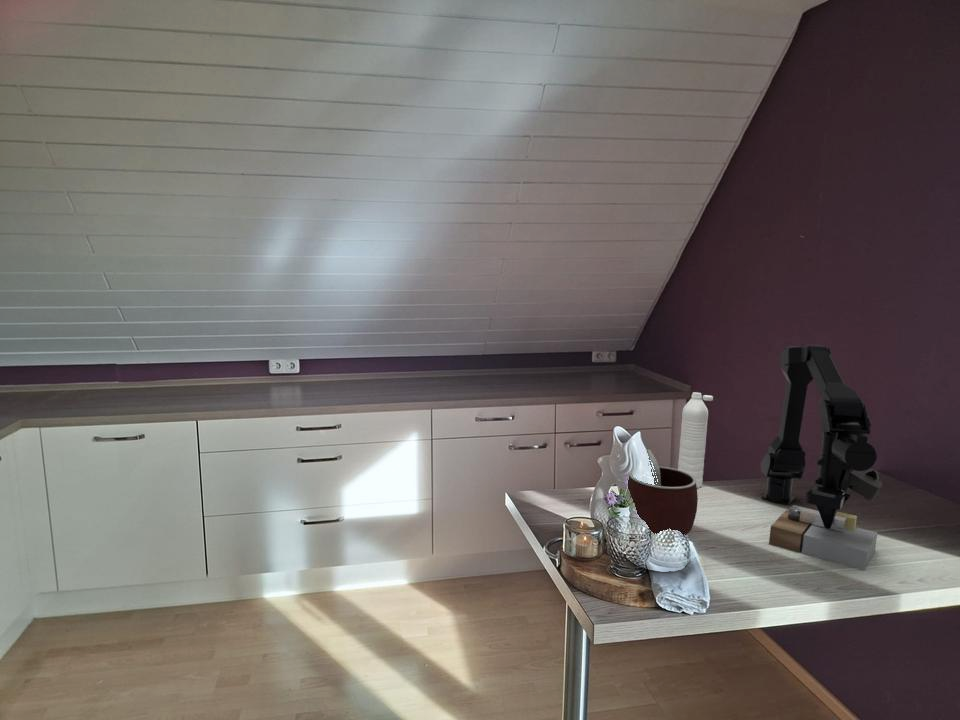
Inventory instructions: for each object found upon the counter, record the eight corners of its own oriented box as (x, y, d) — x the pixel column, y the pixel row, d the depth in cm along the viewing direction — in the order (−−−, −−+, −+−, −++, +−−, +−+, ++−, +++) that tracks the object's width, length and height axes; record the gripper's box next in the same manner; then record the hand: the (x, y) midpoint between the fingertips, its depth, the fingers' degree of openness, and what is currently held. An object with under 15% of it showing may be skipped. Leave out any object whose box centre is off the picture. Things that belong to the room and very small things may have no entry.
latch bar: (785, 518, 144) (787, 507, 144) (789, 514, 147) (791, 503, 147) (842, 532, 138) (843, 521, 137) (845, 528, 140) (847, 517, 140)
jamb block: (784, 526, 150) (785, 510, 150) (812, 534, 147) (814, 517, 146) (768, 544, 141) (770, 526, 140) (799, 552, 137) (801, 534, 137)
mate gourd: (703, 574, 127) (712, 474, 124) (633, 575, 126) (640, 474, 122) (673, 539, 142) (680, 449, 139) (610, 540, 141) (616, 449, 138)
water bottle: (671, 481, 178) (678, 390, 174) (691, 479, 181) (698, 389, 177) (692, 492, 170) (700, 397, 166) (713, 490, 173) (721, 396, 169)
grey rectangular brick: (815, 535, 146) (818, 506, 145) (874, 550, 139) (878, 520, 138) (801, 553, 137) (805, 523, 136) (864, 570, 130) (869, 539, 129)
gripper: (874, 475, 123) (864, 554, 126) (888, 453, 138) (879, 525, 140) (809, 462, 130) (800, 537, 133) (829, 443, 145) (821, 511, 147)
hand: (827, 527), depth 138 cm, fingers closed
